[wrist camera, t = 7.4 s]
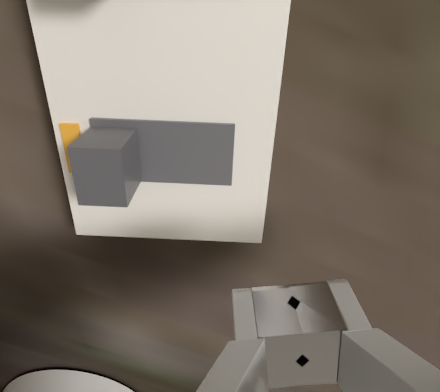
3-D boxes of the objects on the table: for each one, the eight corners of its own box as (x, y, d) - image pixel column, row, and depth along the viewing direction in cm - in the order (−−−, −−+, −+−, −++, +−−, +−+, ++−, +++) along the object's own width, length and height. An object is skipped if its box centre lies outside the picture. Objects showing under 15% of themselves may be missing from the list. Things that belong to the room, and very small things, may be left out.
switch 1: (141, 179, 16) (127, 207, 14) (99, 177, 16) (78, 205, 14) (137, 128, 14) (120, 149, 12) (91, 126, 14) (66, 147, 12)
